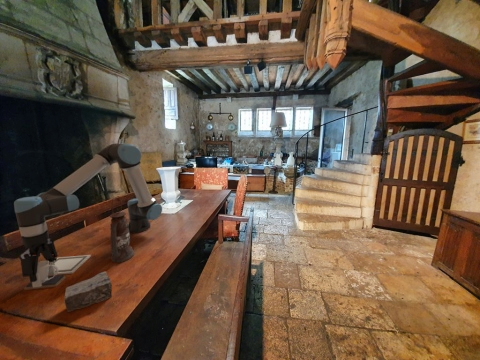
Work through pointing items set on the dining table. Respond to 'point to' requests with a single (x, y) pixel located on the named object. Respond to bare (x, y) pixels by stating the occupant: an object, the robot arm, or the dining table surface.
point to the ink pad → (47, 283)
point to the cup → (45, 270)
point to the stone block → (88, 292)
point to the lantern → (117, 230)
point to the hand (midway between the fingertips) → (44, 280)
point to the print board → (69, 264)
